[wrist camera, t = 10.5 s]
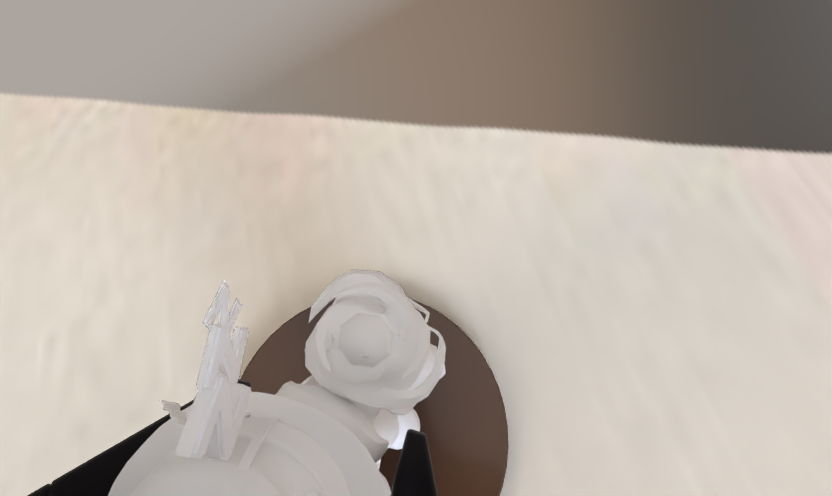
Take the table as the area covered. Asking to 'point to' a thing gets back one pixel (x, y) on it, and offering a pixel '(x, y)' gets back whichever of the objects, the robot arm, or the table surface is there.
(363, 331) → the hat wearing toy figure
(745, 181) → the table surface
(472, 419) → the coaster
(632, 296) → the table surface
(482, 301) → the table surface
